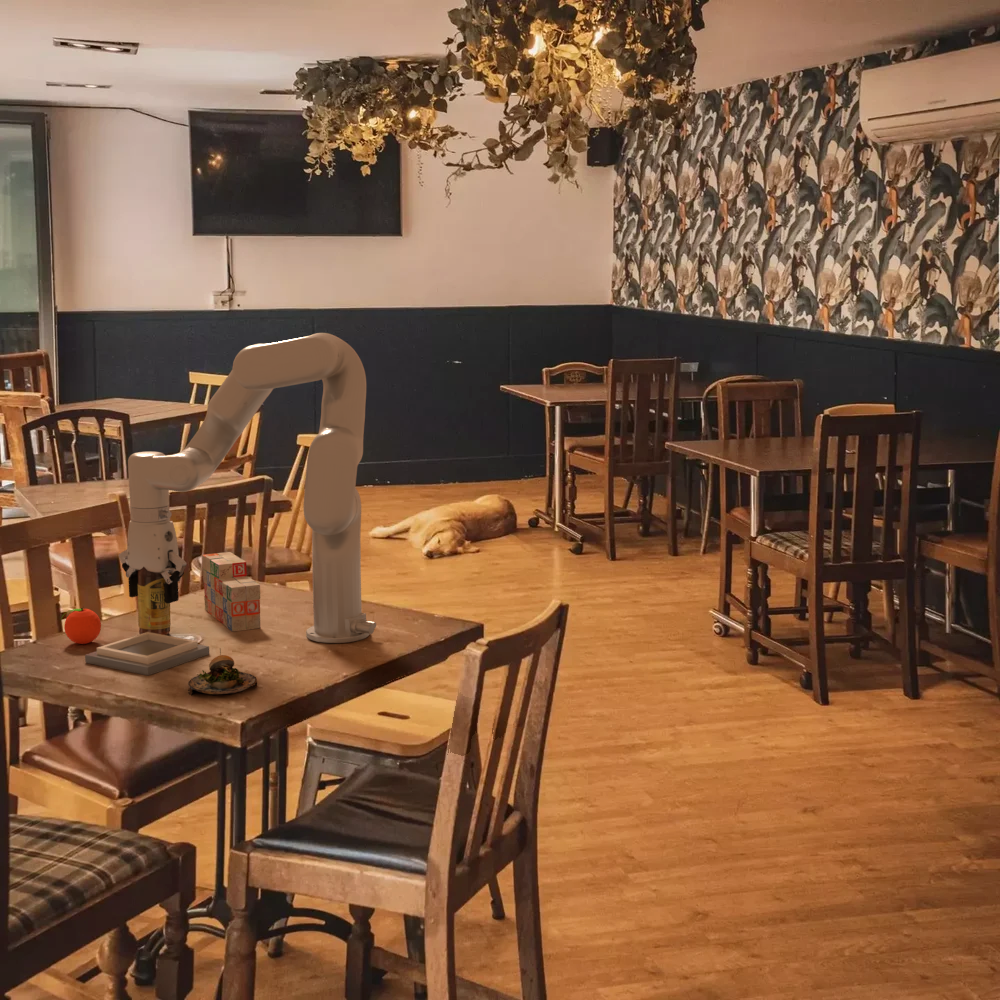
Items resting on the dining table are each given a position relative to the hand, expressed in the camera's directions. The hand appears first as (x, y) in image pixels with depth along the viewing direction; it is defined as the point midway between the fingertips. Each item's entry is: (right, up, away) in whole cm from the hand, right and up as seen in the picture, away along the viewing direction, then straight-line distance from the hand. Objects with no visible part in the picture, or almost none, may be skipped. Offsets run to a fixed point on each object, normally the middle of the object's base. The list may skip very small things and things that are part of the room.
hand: (153, 598), depth 271 cm
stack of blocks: (+13, -5, +14) cm, 20 cm away
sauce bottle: (0, -7, +1) cm, 8 cm away
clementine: (-13, -9, -5) cm, 16 cm away
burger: (+21, -14, -34) cm, 42 cm away
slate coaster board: (+3, -10, -15) cm, 19 cm away
